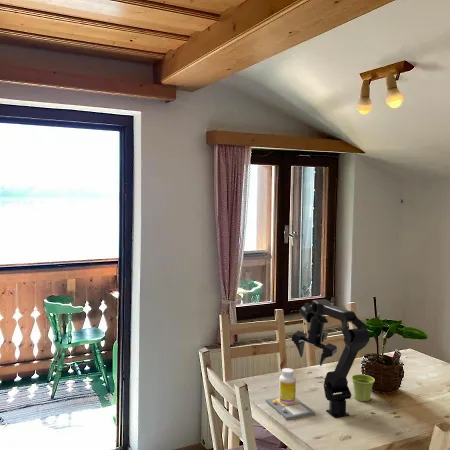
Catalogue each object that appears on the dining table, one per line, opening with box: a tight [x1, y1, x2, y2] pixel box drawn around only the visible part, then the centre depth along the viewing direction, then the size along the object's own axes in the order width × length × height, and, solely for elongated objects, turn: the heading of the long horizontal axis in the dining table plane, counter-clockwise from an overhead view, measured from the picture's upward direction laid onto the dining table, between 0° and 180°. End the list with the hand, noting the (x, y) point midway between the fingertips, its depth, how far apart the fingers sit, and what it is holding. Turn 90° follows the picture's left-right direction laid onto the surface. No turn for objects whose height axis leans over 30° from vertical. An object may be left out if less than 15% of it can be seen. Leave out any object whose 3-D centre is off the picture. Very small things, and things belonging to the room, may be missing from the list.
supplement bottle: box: [278, 367, 297, 404], centre depth 200 cm, size 7×7×13 cm
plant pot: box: [351, 373, 376, 402], centre depth 206 cm, size 9×9×9 cm
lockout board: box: [265, 396, 316, 420], centre depth 197 cm, size 17×13×2 cm
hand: (311, 361), depth 209 cm, fingers open, 9 cm apart
